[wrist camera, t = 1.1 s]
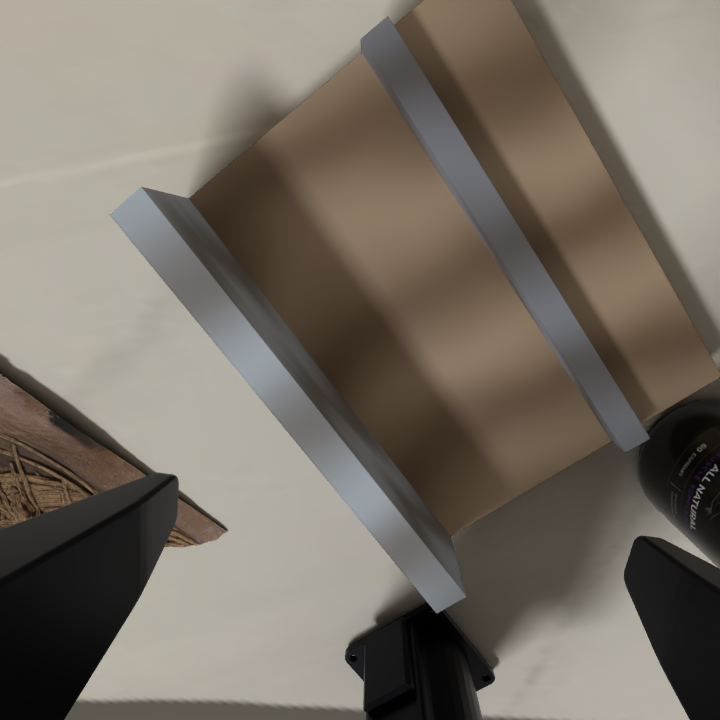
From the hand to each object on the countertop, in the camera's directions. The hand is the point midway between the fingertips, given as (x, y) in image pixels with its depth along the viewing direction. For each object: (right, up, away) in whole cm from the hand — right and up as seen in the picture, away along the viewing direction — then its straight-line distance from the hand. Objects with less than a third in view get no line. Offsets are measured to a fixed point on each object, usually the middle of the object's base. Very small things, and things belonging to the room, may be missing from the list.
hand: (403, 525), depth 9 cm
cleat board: (+3, +6, +12) cm, 14 cm away
